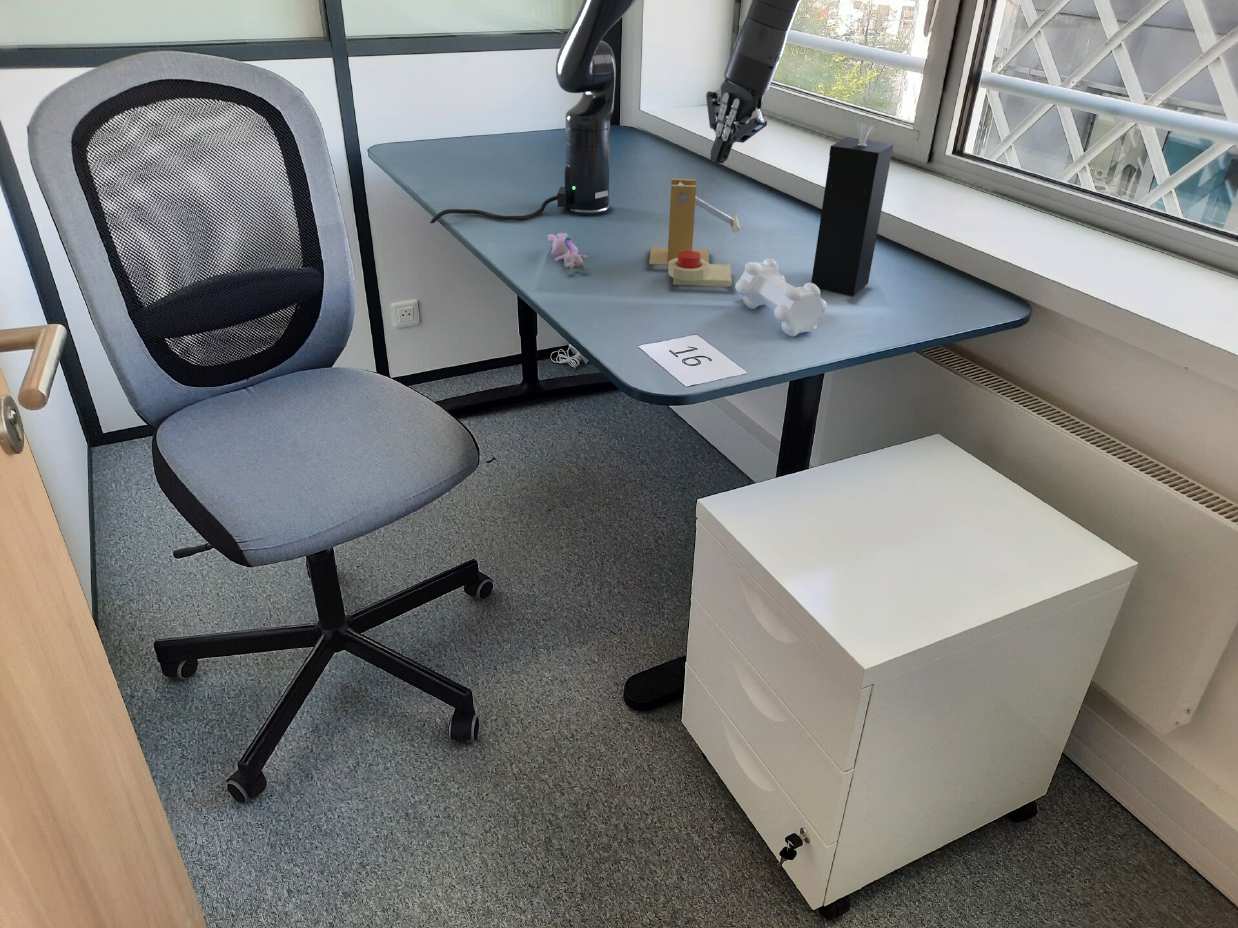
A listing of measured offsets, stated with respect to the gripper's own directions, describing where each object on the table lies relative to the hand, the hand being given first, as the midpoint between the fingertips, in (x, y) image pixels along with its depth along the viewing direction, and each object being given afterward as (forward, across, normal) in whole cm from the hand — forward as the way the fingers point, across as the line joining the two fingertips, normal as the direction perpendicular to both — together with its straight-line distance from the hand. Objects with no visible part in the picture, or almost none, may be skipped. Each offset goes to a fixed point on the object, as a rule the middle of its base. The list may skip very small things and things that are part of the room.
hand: (716, 161), depth 147 cm
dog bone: (+16, +24, 0) cm, 29 cm away
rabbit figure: (+27, -17, -11) cm, 34 cm away
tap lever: (+11, -4, +6) cm, 13 cm away
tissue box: (+13, +22, +18) cm, 31 cm away
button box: (+20, +5, +1) cm, 21 cm away
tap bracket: (+21, -5, +5) cm, 22 cm away
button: (+17, +4, -2) cm, 18 cm away
